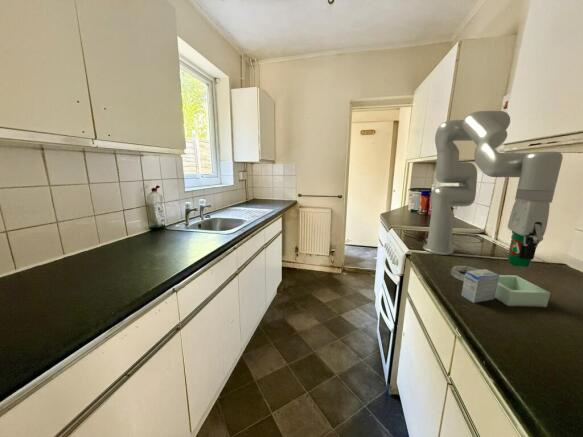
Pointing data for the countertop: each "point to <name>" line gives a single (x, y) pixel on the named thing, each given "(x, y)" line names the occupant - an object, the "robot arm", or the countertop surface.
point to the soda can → (515, 250)
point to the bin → (520, 292)
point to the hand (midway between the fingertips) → (520, 254)
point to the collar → (457, 269)
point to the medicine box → (480, 285)
